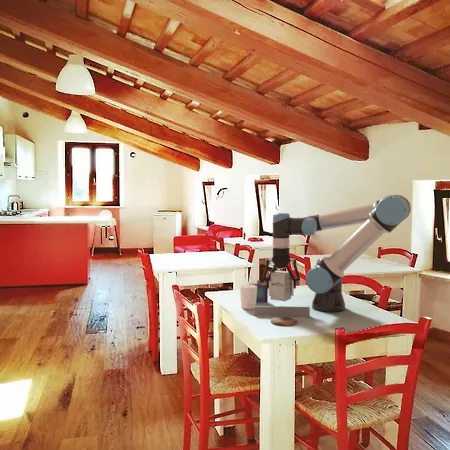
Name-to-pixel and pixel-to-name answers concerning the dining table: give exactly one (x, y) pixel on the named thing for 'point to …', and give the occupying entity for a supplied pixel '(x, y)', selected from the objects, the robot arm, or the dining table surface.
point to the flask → (261, 292)
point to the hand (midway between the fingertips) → (281, 295)
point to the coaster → (284, 321)
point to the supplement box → (280, 286)
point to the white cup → (248, 296)
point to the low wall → (281, 311)
